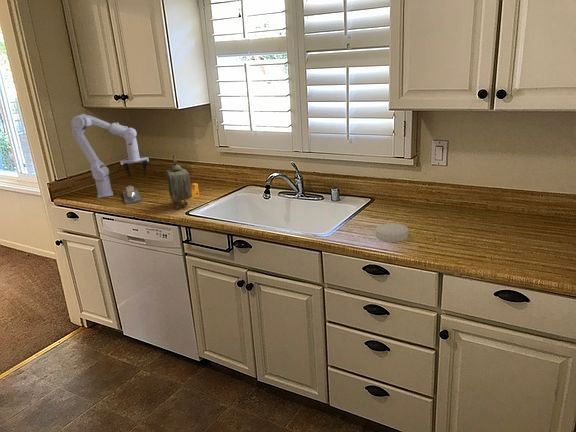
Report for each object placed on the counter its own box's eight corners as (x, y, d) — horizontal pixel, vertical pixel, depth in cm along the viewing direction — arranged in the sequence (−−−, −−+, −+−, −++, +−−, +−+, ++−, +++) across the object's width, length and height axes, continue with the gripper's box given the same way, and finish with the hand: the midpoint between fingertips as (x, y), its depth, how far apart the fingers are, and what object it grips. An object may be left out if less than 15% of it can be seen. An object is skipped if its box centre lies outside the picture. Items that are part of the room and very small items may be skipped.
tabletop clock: (170, 203, 236) (163, 154, 228) (188, 200, 239) (181, 151, 231) (175, 211, 223) (167, 159, 215) (194, 207, 226) (187, 156, 218)
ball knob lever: (126, 192, 256) (125, 187, 255) (134, 191, 258) (133, 185, 257) (128, 199, 243) (127, 193, 242) (136, 198, 244) (135, 192, 243)
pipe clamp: (193, 194, 248) (192, 182, 246) (199, 195, 245) (197, 183, 243) (176, 201, 239) (174, 188, 237) (181, 202, 236) (179, 189, 234)
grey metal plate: (122, 193, 260) (121, 186, 258) (137, 190, 262) (136, 184, 261) (125, 204, 239) (123, 196, 238) (141, 201, 242) (140, 194, 240)
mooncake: (405, 243, 170) (405, 234, 169) (372, 240, 175) (372, 231, 174) (410, 231, 181) (410, 223, 179) (379, 229, 185) (379, 220, 184)
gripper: (119, 154, 245) (123, 179, 249) (147, 150, 250) (151, 175, 254) (118, 152, 251) (123, 176, 256) (146, 148, 256) (150, 172, 260)
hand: (137, 176), depth 255 cm, fingers open, 7 cm apart
